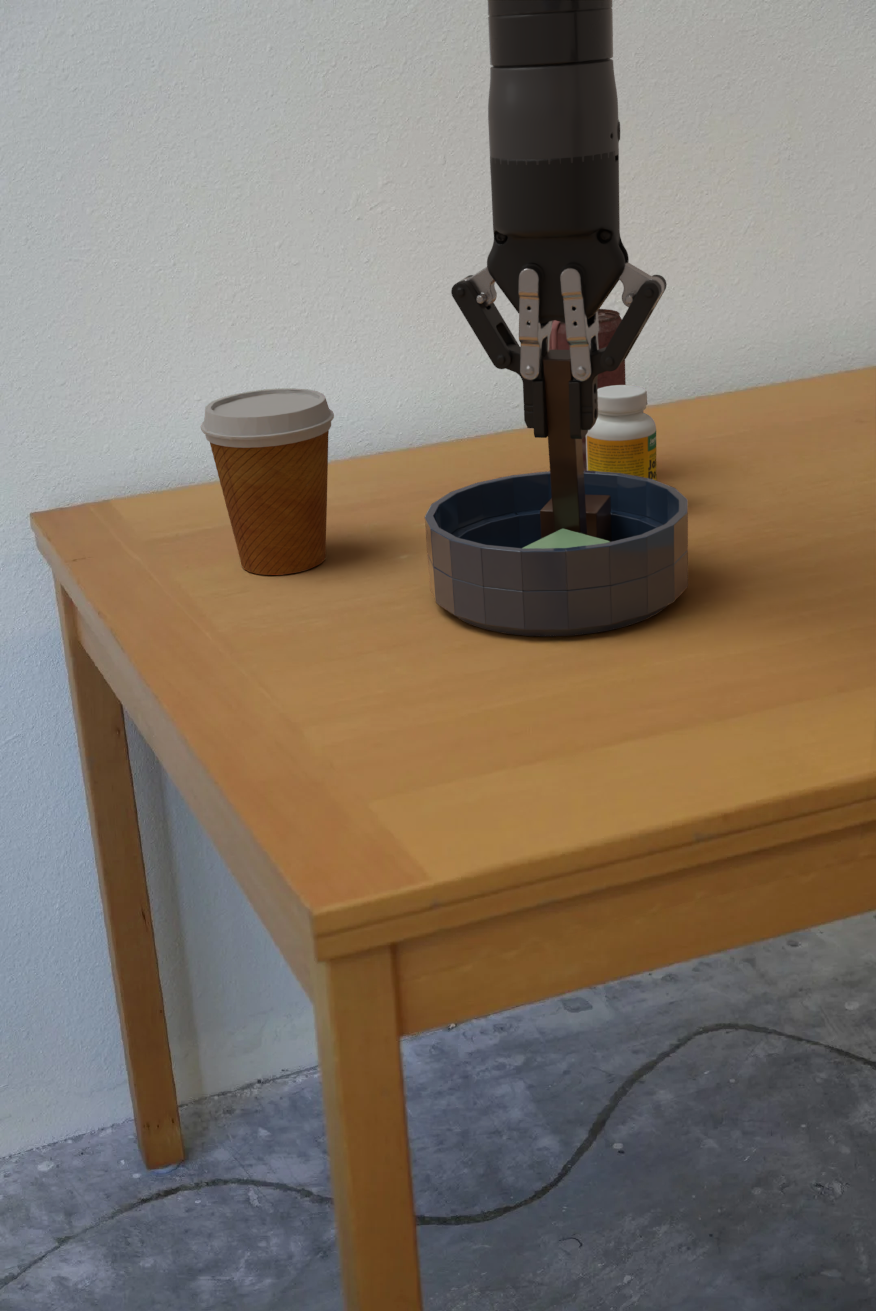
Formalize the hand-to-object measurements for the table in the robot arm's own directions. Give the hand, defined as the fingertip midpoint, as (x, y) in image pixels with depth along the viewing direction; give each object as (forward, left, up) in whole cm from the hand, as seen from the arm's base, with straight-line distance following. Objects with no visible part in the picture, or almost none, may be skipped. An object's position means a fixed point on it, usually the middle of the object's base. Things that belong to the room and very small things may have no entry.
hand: (562, 434), depth 93 cm
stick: (+1, -1, -9) cm, 9 cm away
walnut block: (+6, -4, -11) cm, 13 cm away
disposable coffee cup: (+20, +12, -12) cm, 27 cm away
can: (+22, -16, -12) cm, 30 cm away
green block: (-2, +1, -11) cm, 11 cm away
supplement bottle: (+14, -14, -12) cm, 23 cm away
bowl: (+2, -1, -12) cm, 12 cm away
